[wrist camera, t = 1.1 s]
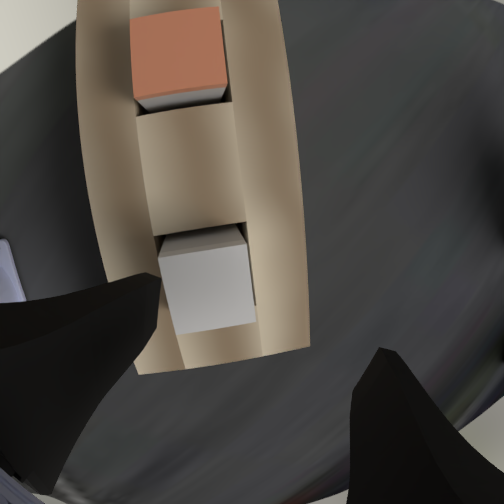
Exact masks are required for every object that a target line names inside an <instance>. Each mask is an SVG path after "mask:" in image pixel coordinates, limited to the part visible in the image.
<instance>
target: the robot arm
mask: <svg viewBox="0 0 504 504" xmlns="http://www.w3.org/2000/svg"><path fill="white" fill-rule="evenodd" d="M161 281H162V278H160V277H157V276H155V275H152V274H149V273H147V272H144V273H139V274H135V275H132V276H128V277H125V278H122V279H119V280H115V281H112V282H109V283H106V284H102V285H99V286H96V287H92V288H89V289H85V290H81V291H77V292H73V293H69V294H66V295H61V296H56V297H51V298H45V299H39V300H32V301H26V298H25V295H24V292H23V289H22V286H21V283H20V280H19V277H18V274H17V270H16V267H15V263H14V260H13V256H12V253H11V249H10V245H9V242H8V241H7V240H6V239H0V504H45V503H43V502H42V501H40V500H39V499H38V498H37V497H35V496H34V495H33V494H31V493H30V492H29V491H27V490H26V489H25V488H24V487H22V486H21V485H20V484H19V483H18V482H16V481H15V480H14V479H13V478H12V476H14V477H15V478H17V479H18V480H19V481H20V482H22V483H23V482H25V483H26V484H27V485H28V486H30V487H31V488H32V489H34V490H35V491H36V492H38V493H39V494H40V495H49V494H52V492H53V489H54V486H55V484H56V482H57V480H58V477H59V475H60V473H61V471H62V468H63V466H64V464H65V462H66V460H67V458H68V456H69V454H70V452H71V450H72V448H73V446H74V445H75V443H76V441H77V439H78V437H79V436H80V434H81V432H82V430H83V429H84V427H85V425H86V424H87V422H88V420H89V419H90V417H91V416H92V414H93V412H94V411H95V409H96V408H97V406H98V405H99V403H100V402H101V400H102V399H103V398H104V396H105V395H106V394H107V392H108V391H109V390H110V389H111V388H112V386H113V385H114V384H115V383H116V382H117V381H118V379H119V378H120V377H121V376H122V375H123V373H124V372H125V371H126V370H127V369H128V368H129V366H130V365H131V364H132V363H133V362H134V360H135V359H136V358H137V357H138V356H139V354H140V353H141V352H142V351H143V349H144V348H145V346H146V345H147V343H148V341H149V340H150V338H151V337H152V335H153V333H154V332H155V330H156V328H157V320H158V309H159V299H160V290H161ZM346 504H504V473H503V472H502V471H500V470H499V469H497V467H495V466H494V465H493V464H491V463H490V462H489V461H488V460H487V459H486V458H484V457H483V456H482V455H481V454H480V453H479V452H478V451H477V450H475V449H474V448H473V447H472V446H471V445H470V444H469V443H468V442H467V441H466V440H465V439H464V437H463V436H462V435H461V434H460V433H459V432H458V431H457V430H456V429H455V428H454V427H453V425H452V424H451V423H450V422H449V421H448V420H447V418H446V417H445V416H444V415H443V413H442V412H441V411H440V410H439V408H438V407H437V406H436V404H435V403H434V402H433V400H432V399H431V398H430V396H429V395H428V394H427V392H426V391H425V390H424V388H423V387H422V385H421V384H420V383H419V381H418V380H417V379H416V377H415V376H414V374H413V373H412V372H411V370H410V369H409V367H408V366H407V365H406V363H405V362H404V361H403V360H402V358H401V357H400V356H399V355H398V354H397V352H396V351H392V350H388V349H384V348H381V347H379V348H378V350H377V352H376V354H375V355H374V357H373V359H372V360H371V362H370V364H369V365H368V367H367V369H366V370H365V372H364V374H363V375H362V377H361V379H360V380H359V382H358V383H357V385H356V386H355V388H354V390H353V393H352V401H351V410H350V482H349V490H348V497H347V503H346Z"/></svg>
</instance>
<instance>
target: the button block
mask: <svg viewBox="0 0 504 504" xmlns="http://www.w3.org/2000/svg"><path fill="white" fill-rule="evenodd" d="M217 6H219V12H220V21H221V30H222V39H223V47H224V56H225V65H226V73H227V82H228V84H227V86H226V88H225V91H224V93H223V95H222V98H221V101H222V103H220V104H211V105H203V106H196V107H189V108H182V109H176V110H170V111H164V112H158V113H153V114H150V113H149V112H148V111H147V110H146V109H145V108H144V107H143V106H142V105H141V104H140V103H139V102H138V101H137V100H136V99H135V98H134V94H133V82H132V67H131V49H130V19H134V18H138V17H143V16H148V15H154V14H159V13H165V12H172V11H179V10H186V9H195V8H205V7H217ZM76 88H77V105H78V118H79V129H80V139H81V148H82V156H83V163H84V170H85V177H86V183H87V189H88V195H89V201H90V206H91V211H92V216H93V221H94V226H95V231H96V235H97V240H98V244H99V248H100V253H101V257H102V261H103V265H104V269H105V272H106V276H107V280H108V283H109V282H112V281H115V280H119V279H122V278H125V277H128V276H132V275H135V274H139V273H144V272H147V273H149V274H152V275H155V276H157V277H160V278H162V276H161V271H160V266H159V262H158V256H159V253H160V251H161V248H162V245H163V242H164V240H165V237H166V234H169V233H175V232H181V231H188V230H194V229H200V228H206V227H213V226H219V225H226V224H232V223H236V224H237V228H238V230H239V232H240V233H241V235H242V237H243V238H244V240H245V242H246V244H247V250H248V259H249V267H250V275H251V283H252V291H253V299H254V308H255V316H256V322H253V323H247V324H242V325H236V326H230V327H225V328H219V329H212V330H206V331H200V332H193V333H187V334H180V335H176V333H175V329H174V326H173V322H172V318H171V314H170V310H169V306H168V302H167V297H166V293H165V289H164V284H163V280H162V281H161V290H160V299H159V309H158V320H157V328H156V330H155V332H154V333H153V335H152V337H151V338H150V340H149V341H148V343H147V345H146V346H145V348H144V349H143V351H142V352H141V353H140V354H139V356H138V357H137V358H136V359H135V360H134V363H135V366H136V369H137V371H138V374H149V373H158V372H167V371H175V370H182V369H190V368H197V367H204V366H210V365H217V364H223V363H229V362H234V361H240V360H246V359H251V358H256V357H261V356H266V355H271V354H276V353H281V352H286V351H290V350H295V349H299V348H303V347H308V346H310V326H309V298H308V276H307V257H306V241H305V226H304V212H303V199H302V187H301V176H300V165H299V155H298V145H297V136H296V127H295V118H294V109H293V101H292V93H291V85H290V78H289V71H288V63H287V56H286V50H285V43H284V36H283V30H282V24H281V18H280V12H279V6H278V0H78V5H77V20H76Z"/></svg>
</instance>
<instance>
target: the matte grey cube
mask: <svg viewBox="0 0 504 504" xmlns="http://www.w3.org/2000/svg"><path fill="white" fill-rule="evenodd" d="M158 262H159V266H160V271H161V276H162V280H163V284H164V289H165V293H166V297H167V302H168V306H169V310H170V314H171V318H172V322H173V326H174V329H175V333H176V335H180V334H187V333H193V332H200V331H206V330H212V329H219V328H225V327H230V326H236V325H242V324H247V323H253V322H256V316H255V308H254V299H253V291H252V283H251V275H250V267H249V259H248V250H247V244H246V242H245V240H244V238H243V237H242V235H241V233H240V232H239V230H238V228H237V226H236V225H235V223H232V224H226V225H219V226H213V227H206V228H200V229H194V230H188V231H181V232H175V233H169V234H166V237H165V240H164V242H163V245H162V248H161V251H160V253H159V256H158Z"/></svg>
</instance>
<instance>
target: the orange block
mask: <svg viewBox="0 0 504 504" xmlns="http://www.w3.org/2000/svg"><path fill="white" fill-rule="evenodd" d="M130 49H131V67H132V82H133V94H134V98H135V99H136V100H137V101H138V102H139V103H140V104H141V105H142V106H143V107H144V108H145V109H146V110H147V111H148V112H149V113H150V114H153V113H158V112H164V111H170V110H176V109H182V108H189V107H196V106H203V105H211V104H219V102H220V100H221V98H222V95H223V93H224V91H225V88H226V86H227V84H228V82H227V73H226V65H225V56H224V47H223V39H222V30H221V21H220V12H219V6H217V7H205V8H195V9H186V10H179V11H172V12H165V13H159V14H154V15H148V16H143V17H138V18H134V19H130Z"/></svg>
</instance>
